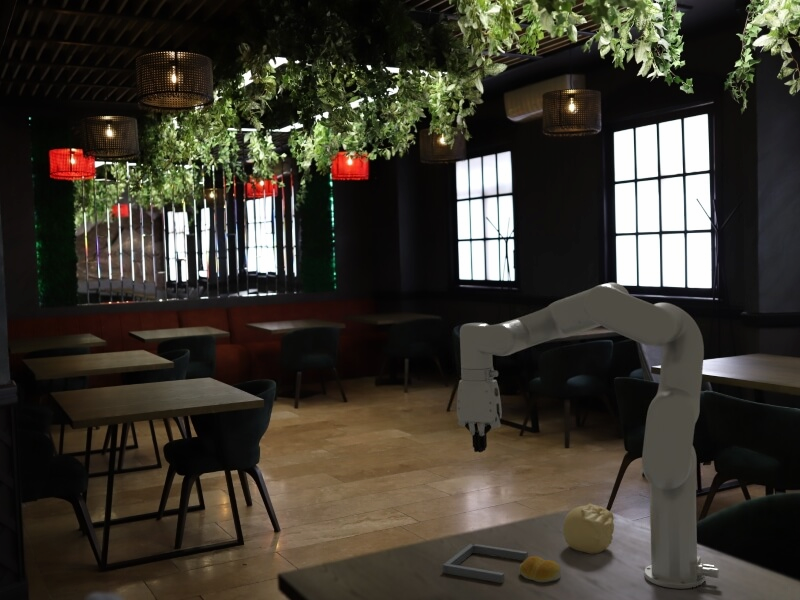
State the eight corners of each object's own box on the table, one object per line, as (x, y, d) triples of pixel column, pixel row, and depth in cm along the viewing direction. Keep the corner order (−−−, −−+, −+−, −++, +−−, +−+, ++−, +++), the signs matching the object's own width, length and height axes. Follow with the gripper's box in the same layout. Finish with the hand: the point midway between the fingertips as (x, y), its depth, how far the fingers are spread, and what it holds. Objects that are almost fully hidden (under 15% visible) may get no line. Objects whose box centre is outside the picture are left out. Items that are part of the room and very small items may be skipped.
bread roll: (550, 586, 179) (550, 568, 179) (514, 577, 185) (514, 560, 185) (568, 574, 186) (567, 556, 185) (533, 565, 191) (532, 549, 191)
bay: (527, 559, 195) (527, 551, 195) (502, 583, 182) (502, 575, 181) (471, 550, 202) (471, 543, 202) (442, 572, 189) (442, 565, 189)
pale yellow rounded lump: (606, 560, 192) (604, 515, 191) (556, 552, 198) (555, 508, 198) (620, 545, 202) (619, 501, 201) (573, 537, 208) (572, 495, 207)
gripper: (512, 373, 197) (515, 450, 198) (455, 371, 204) (458, 445, 205) (500, 378, 190) (502, 457, 191) (442, 376, 198) (445, 451, 199)
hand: (479, 450), depth 198 cm, fingers closed
